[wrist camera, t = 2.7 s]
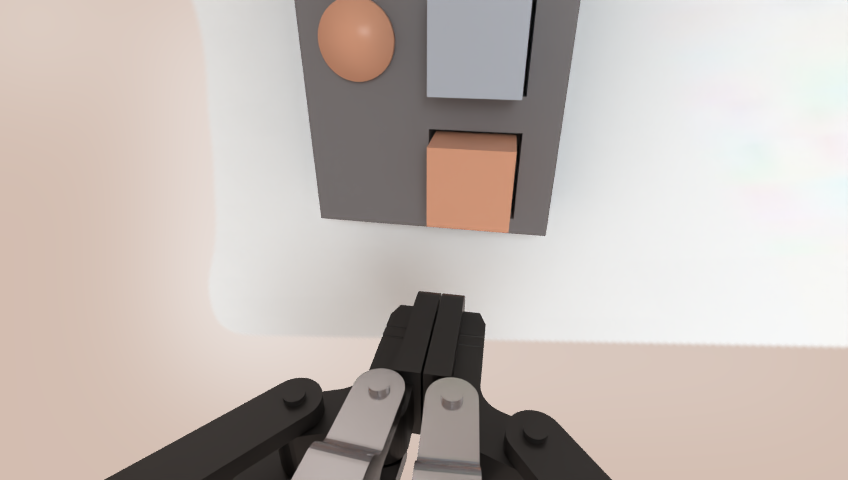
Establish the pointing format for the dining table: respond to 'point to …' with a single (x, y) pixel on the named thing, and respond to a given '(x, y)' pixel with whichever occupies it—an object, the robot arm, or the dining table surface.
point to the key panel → (420, 109)
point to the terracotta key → (470, 180)
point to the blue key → (477, 48)
